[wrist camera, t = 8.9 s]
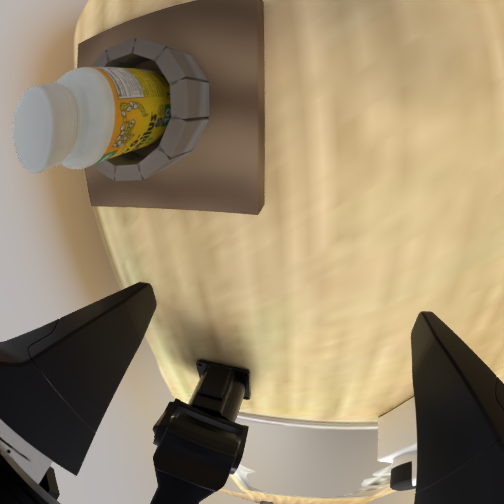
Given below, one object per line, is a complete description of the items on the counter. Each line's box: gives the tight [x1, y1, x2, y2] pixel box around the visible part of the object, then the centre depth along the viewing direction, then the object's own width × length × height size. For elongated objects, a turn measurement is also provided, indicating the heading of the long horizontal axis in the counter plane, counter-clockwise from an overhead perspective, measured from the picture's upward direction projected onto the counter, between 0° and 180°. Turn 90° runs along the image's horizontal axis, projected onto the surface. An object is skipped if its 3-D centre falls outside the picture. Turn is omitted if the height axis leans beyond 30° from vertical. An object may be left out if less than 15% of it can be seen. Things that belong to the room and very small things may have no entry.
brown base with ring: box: [77, 0, 265, 215], centre depth 15 cm, size 15×15×5 cm
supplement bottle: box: [13, 67, 171, 173], centre depth 11 cm, size 5×5×10 cm
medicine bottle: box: [377, 397, 417, 491], centre depth 23 cm, size 7×7×12 cm
